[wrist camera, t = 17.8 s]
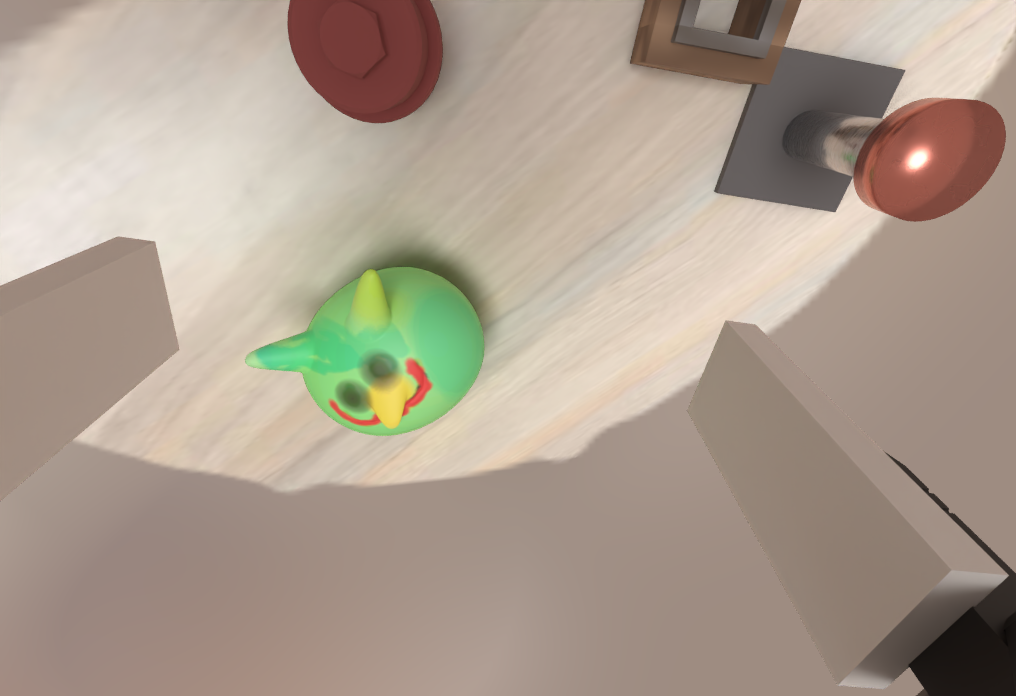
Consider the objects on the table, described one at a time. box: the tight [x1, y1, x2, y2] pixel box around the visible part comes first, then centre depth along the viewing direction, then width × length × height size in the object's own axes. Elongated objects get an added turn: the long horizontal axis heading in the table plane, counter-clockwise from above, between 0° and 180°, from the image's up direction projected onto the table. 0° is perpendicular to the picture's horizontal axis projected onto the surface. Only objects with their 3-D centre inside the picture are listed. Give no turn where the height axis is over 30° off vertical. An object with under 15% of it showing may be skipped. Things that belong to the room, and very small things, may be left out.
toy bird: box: [245, 267, 484, 436], centre depth 46 cm, size 18×17×15 cm
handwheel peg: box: [782, 98, 1006, 221], centre depth 36 cm, size 7×7×16 cm
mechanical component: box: [288, 0, 443, 123], centre depth 34 cm, size 12×10×10 cm
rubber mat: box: [714, 47, 905, 212], centre depth 43 cm, size 12×12×1 cm
